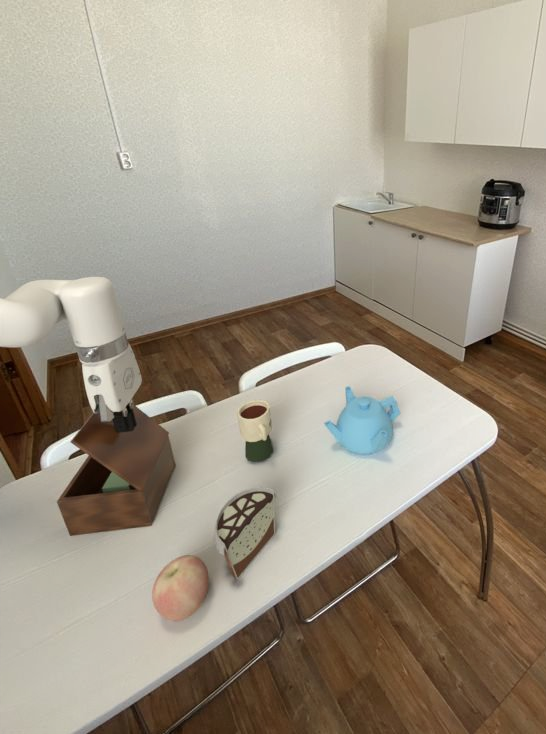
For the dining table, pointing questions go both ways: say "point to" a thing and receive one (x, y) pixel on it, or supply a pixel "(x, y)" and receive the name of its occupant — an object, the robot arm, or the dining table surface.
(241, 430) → the character mug
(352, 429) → the teapot
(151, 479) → the chest
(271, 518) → the slice of cake
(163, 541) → the dining table surface
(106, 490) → the block
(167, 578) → the apple
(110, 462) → the lid
